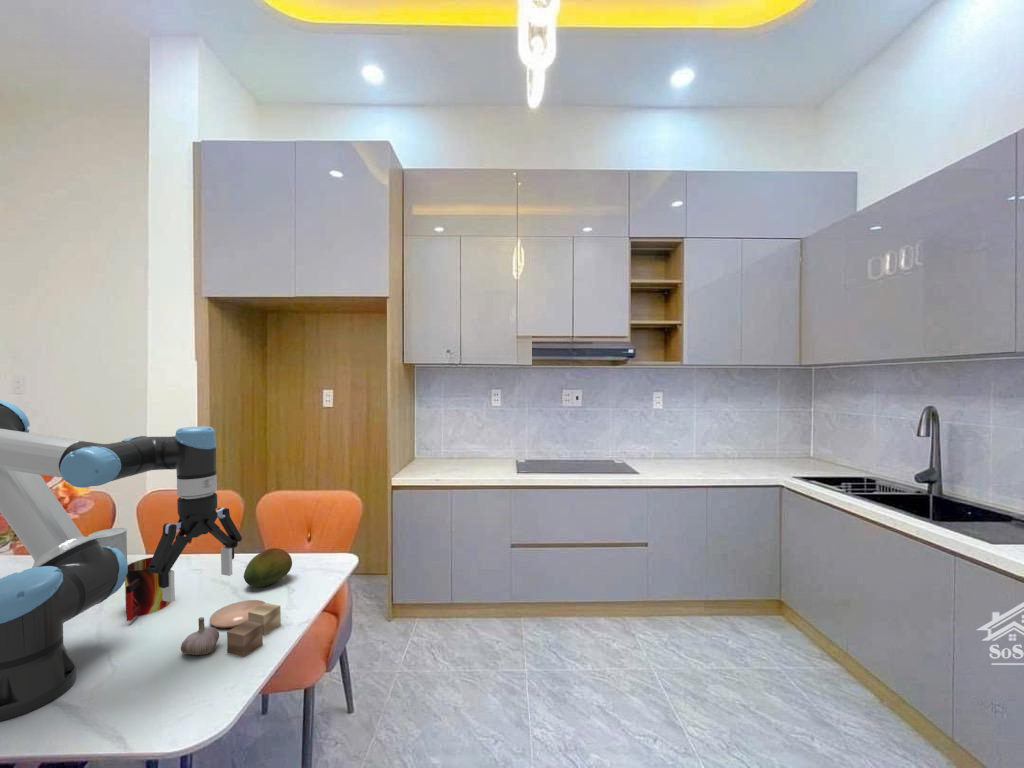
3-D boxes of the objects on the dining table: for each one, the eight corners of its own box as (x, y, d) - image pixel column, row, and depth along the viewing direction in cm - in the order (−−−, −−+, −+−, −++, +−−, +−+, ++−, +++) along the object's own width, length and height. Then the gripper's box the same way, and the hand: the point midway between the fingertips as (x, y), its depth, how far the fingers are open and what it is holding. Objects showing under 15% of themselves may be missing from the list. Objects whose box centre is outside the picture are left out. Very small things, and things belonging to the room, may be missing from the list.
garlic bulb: (220, 653, 103) (219, 619, 103) (180, 666, 99) (179, 629, 99) (218, 638, 109) (218, 605, 109) (181, 649, 105) (180, 614, 105)
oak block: (264, 635, 110) (263, 615, 110) (248, 632, 112) (248, 612, 112) (280, 625, 115) (280, 605, 115) (265, 621, 117) (265, 602, 117)
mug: (126, 626, 115) (125, 579, 115) (125, 606, 125) (124, 563, 125) (174, 613, 121) (173, 568, 121) (168, 594, 132) (167, 553, 132)
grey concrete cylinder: (88, 569, 150) (87, 532, 150) (126, 561, 156) (126, 525, 156) (88, 579, 143) (87, 540, 143) (128, 570, 149) (127, 532, 149)
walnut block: (243, 657, 102) (243, 635, 102) (227, 653, 103) (227, 631, 103) (262, 645, 107) (262, 624, 106) (246, 641, 108) (246, 620, 108)
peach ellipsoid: (235, 634, 111) (235, 629, 111) (197, 625, 115) (197, 620, 115) (278, 608, 123) (278, 604, 123) (243, 601, 127) (243, 597, 127)
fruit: (298, 576, 143) (297, 544, 143) (270, 595, 131) (270, 560, 131) (265, 573, 145) (265, 542, 145) (235, 592, 133) (234, 558, 133)
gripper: (149, 511, 91) (152, 616, 91) (256, 483, 114) (258, 567, 115) (124, 508, 93) (127, 610, 94) (234, 481, 117) (236, 563, 117)
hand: (199, 587), depth 104 cm, fingers open, 13 cm apart
